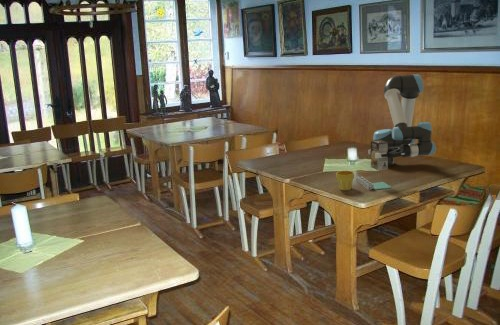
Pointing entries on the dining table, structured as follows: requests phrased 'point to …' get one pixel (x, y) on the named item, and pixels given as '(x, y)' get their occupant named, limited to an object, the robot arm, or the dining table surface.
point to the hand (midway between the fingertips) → (372, 154)
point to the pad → (381, 186)
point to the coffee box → (379, 147)
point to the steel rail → (365, 183)
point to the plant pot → (345, 179)
